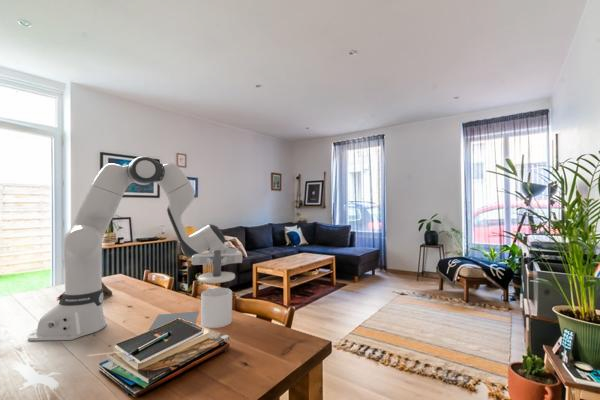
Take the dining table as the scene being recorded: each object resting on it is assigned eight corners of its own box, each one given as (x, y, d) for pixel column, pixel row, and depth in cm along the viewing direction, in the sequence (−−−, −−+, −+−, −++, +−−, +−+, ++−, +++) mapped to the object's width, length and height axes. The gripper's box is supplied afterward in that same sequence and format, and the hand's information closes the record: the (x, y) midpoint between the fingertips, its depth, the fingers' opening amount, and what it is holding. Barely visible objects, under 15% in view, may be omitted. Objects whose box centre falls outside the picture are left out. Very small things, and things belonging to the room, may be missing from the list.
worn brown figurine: (90, 306, 141) (82, 271, 138) (83, 304, 144) (75, 270, 140) (114, 294, 151) (107, 261, 148) (108, 293, 154) (101, 260, 151)
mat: (148, 331, 108) (148, 330, 108) (158, 315, 124) (158, 314, 124) (194, 327, 112) (194, 326, 112) (198, 312, 128) (198, 311, 128)
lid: (196, 284, 109) (196, 254, 109) (200, 275, 122) (200, 248, 122) (235, 281, 112) (235, 252, 112) (234, 273, 125) (234, 247, 126)
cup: (208, 331, 109) (208, 298, 109) (196, 322, 117) (196, 291, 117) (237, 323, 116) (237, 292, 116) (223, 314, 125) (223, 286, 125)
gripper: (193, 249, 127) (188, 255, 114) (241, 247, 132) (243, 253, 119) (192, 264, 127) (188, 271, 114) (241, 262, 132) (243, 268, 119)
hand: (216, 262), depth 116 cm, fingers closed on lid, 3 cm apart
